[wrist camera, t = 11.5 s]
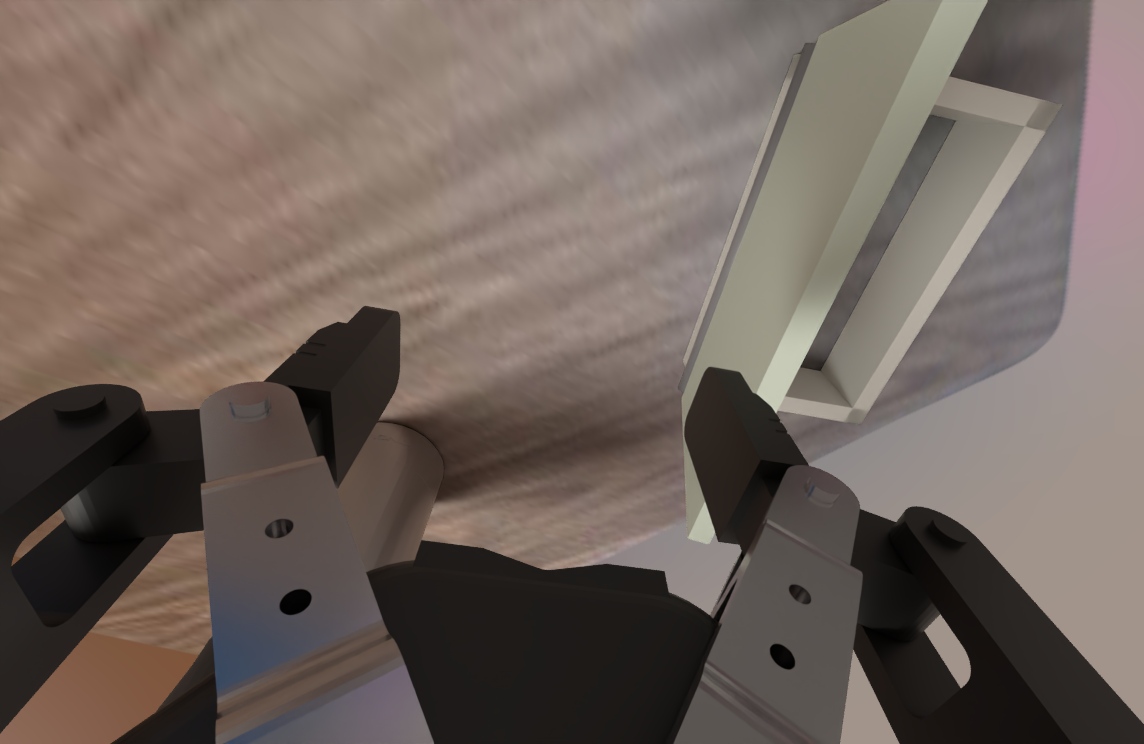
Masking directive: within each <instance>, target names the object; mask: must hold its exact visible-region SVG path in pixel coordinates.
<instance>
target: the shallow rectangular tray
mask: <svg viewBox="0 0 1144 744" xmlns="http://www.w3.org/2000/svg"><path fill="white" fill-rule="evenodd" d="M815 46H816V44H813V43H806V44H805V45H804V48H803V50H802V53H801V54H795V55H794V56H793V59H792V61H791V64H790V67H789V70H788V72H787V75H786V78H785V81H784V83H783V86H782V89H781V92H780V94H779V97H778V100H777V103H776V105H775V108H774V111H773V114H772V116H771V119H770V122H769V125H768V127H767V130H766V133H765V136H764V138H763V141H762V144H761V147H760V149H759V152H758V155H757V158H756V160H755V163H754V166H753V169H752V171H751V174H750V177H749V180H748V182H747V185H746V188H745V191H744V193H743V196H742V199H741V202H740V205H739V207H738V210H737V213H736V216H735V218H734V221H733V224H732V227H731V229H730V232H729V235H728V238H727V240H726V243H725V246H724V249H723V251H722V254H721V257H720V260H719V262H718V265H717V268H716V271H715V273H714V276H713V279H712V282H711V284H710V287H709V290H708V293H707V295H706V298H705V301H704V304H703V306H702V309H701V312H700V315H699V317H698V320H697V323H696V326H695V328H694V331H693V334H692V337H691V339H690V342H689V345H688V348H687V350H686V353H685V356H684V359H683V362H684V365H685V370H684V372H683V375H682V378H681V380H680V383H679V386H678V389H679V390H680V391H681V392H683V393H684V391H685V388H686V386H687V383H688V380H689V378H690V375H691V372H692V370H693V367H694V364H695V362H696V359H697V357H698V354H699V351H700V349H701V346H702V343H703V341H704V338H705V335H706V333H707V330H708V328H709V325H710V322H711V320H712V317H713V314H714V312H715V309H716V307H717V304H718V301H719V299H720V296H721V293H722V291H723V288H724V285H725V283H726V280H727V278H728V275H729V272H730V270H731V267H732V264H733V262H734V259H735V256H736V254H737V251H738V249H739V246H740V243H741V241H742V238H743V235H744V233H745V230H746V227H747V225H748V222H749V220H750V217H751V214H752V212H753V209H754V206H755V204H756V201H757V199H758V196H759V193H760V191H761V188H762V185H763V183H764V180H765V177H766V175H767V172H768V170H769V167H770V164H771V162H772V159H773V156H774V154H775V151H776V148H777V146H778V143H779V141H780V138H781V135H782V133H783V130H784V127H785V125H786V122H787V119H788V117H789V114H790V112H791V109H792V106H793V104H794V101H795V98H796V96H797V93H798V91H799V88H800V85H801V83H802V80H803V77H804V75H805V72H806V69H807V67H808V64H809V62H810V59H811V56H812V54H813V51H814V48H815ZM1061 107H1062V104H1058V103H1054V102H1050V101H1046V100H1042V99H1038V98H1034V97H1030V96H1026V95H1022V94H1018V93H1014V92H1010V91H1006V90H1002V89H998V88H994V87H990V86H986V85H982V84H978V83H974V82H970V81H966V80H962V79H958V78H954V77H950V76H949V77H948V79H947V81H946V83H945V85H944V87H943V89H942V91H941V93H940V95H939V97H938V99H937V101H936V103H935V105H934V107H933V109H932V111H931V113H930V115H935V116H939V117H943V118H947V119H951V120H955V121H956V122H955V124H954V126H953V127H952V129H951V131H950V133H949V135H948V137H947V138H946V140H945V142H944V144H943V146H942V148H941V150H940V151H939V153H938V155H937V157H936V159H935V161H934V162H933V164H932V166H931V168H930V170H929V172H928V174H927V175H926V177H925V179H924V181H923V183H922V185H921V186H920V188H919V190H918V192H917V194H916V196H915V198H914V199H913V201H912V203H911V205H910V207H909V209H908V210H907V212H906V214H905V216H904V218H903V220H902V222H901V223H900V225H899V227H898V229H897V231H896V233H895V234H894V236H893V238H892V240H891V242H890V244H889V246H888V247H887V249H886V251H885V253H884V255H883V257H882V258H881V260H880V262H879V264H878V266H877V268H876V270H875V271H874V273H873V275H872V277H871V279H870V281H869V282H868V284H867V286H866V288H865V290H864V292H863V294H862V295H861V297H860V299H859V301H858V303H857V305H856V306H855V308H854V310H853V312H852V314H851V316H850V318H849V319H848V321H847V323H846V325H845V327H844V329H843V330H842V332H841V334H840V336H839V338H838V340H837V342H836V343H835V345H834V347H833V349H832V351H831V353H830V354H829V356H828V358H827V360H826V362H825V364H824V366H823V367H822V369H821V371H817V370H812V369H806V368H801V367H800V368H799V370H798V372H797V374H796V376H795V378H794V380H793V382H792V383H791V385H790V387H789V389H788V391H787V393H786V395H785V397H784V399H783V401H782V403H781V405H780V407H779V409H778V411H784V412H789V413H795V414H801V415H807V416H813V417H819V418H825V419H830V420H836V421H842V422H848V423H854V424H861V422H862V421H863V419H864V418H865V416H866V415H867V413H868V411H869V410H870V408H871V407H872V405H873V404H874V402H875V400H876V399H877V397H878V396H879V394H880V392H881V391H882V389H883V388H884V386H885V385H886V383H887V381H888V380H889V378H890V377H891V375H892V374H893V372H894V370H895V369H896V367H897V366H898V364H899V363H900V361H901V359H902V358H903V356H904V355H905V353H906V351H907V350H908V348H909V347H910V345H911V344H912V342H913V340H914V339H915V337H916V336H917V334H918V333H919V331H920V329H921V328H922V326H923V325H924V323H925V322H926V320H927V318H928V317H929V315H930V314H931V312H932V310H933V309H934V307H935V306H936V304H937V303H938V301H939V299H940V298H941V296H942V295H943V293H944V292H945V290H946V288H947V287H948V285H949V284H950V282H951V281H952V279H953V277H954V276H955V274H956V273H957V271H958V269H959V268H960V266H961V265H962V263H963V262H964V260H965V258H966V257H967V255H968V254H969V252H970V251H971V249H972V247H973V246H974V244H975V243H976V241H977V240H978V238H979V236H980V235H981V233H982V232H983V230H984V228H985V227H986V225H987V224H988V222H989V221H990V219H991V217H992V216H993V214H994V213H995V211H996V210H997V208H998V206H999V205H1000V203H1001V202H1002V200H1003V199H1004V197H1005V195H1006V194H1007V192H1008V191H1009V189H1010V187H1011V186H1012V184H1013V183H1014V181H1015V180H1016V178H1017V176H1018V175H1019V173H1020V172H1021V170H1022V169H1023V167H1024V165H1025V164H1026V162H1027V161H1028V159H1029V158H1030V156H1031V154H1032V153H1033V151H1034V150H1035V148H1036V146H1037V145H1038V143H1039V142H1040V140H1041V139H1042V137H1043V135H1044V134H1045V132H1046V131H1047V129H1048V128H1049V126H1050V124H1051V123H1052V121H1053V120H1054V118H1055V117H1056V115H1057V113H1058V112H1059V110H1060V109H1061Z"/></svg>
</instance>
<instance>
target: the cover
mask: <svg viewBox="0 0 1144 744" xmlns="http://www.w3.org/2000/svg"><path fill="white" fill-rule="evenodd" d="M987 1H988V0H889V1H887V2H885V3H883V4H881V5H879V6H877V7H875V8H873V9H871V10H869V11H867V12H865V13H863V14H861V15H859V16H857V17H855V18H853V19H851V20H849V21H847V22H845V23H843V24H841V25H839V26H837V27H835V28H833V29H831V30H829V31H827V32H825V33H823V34H821V35H819V38H818V40H817V43H816V46H815V48H814V51H813V54H812V56H811V59H810V62H809V64H808V67H807V69H806V72H805V75H804V77H803V80H802V83H801V85H800V88H799V91H798V93H797V96H796V98H795V101H794V104H793V106H792V109H791V112H790V114H789V117H788V119H787V122H786V125H785V127H784V130H783V133H782V135H781V138H780V141H779V143H778V146H777V148H776V151H775V154H774V156H773V159H772V162H771V164H770V167H769V170H768V172H767V175H766V177H765V180H764V183H763V185H762V188H761V191H760V193H759V196H758V199H757V201H756V204H755V206H754V209H753V212H752V214H751V217H750V220H749V222H748V225H747V227H746V230H745V233H744V235H743V238H742V241H741V243H740V246H739V249H738V251H737V254H736V256H735V259H734V262H733V264H732V267H731V270H730V272H729V275H728V278H727V280H726V283H725V285H724V288H723V291H722V293H721V296H720V299H719V301H718V304H717V307H716V309H715V312H714V314H713V317H712V320H711V322H710V325H709V328H708V330H707V333H706V335H705V338H704V341H703V343H702V346H701V349H700V351H699V354H698V357H697V359H696V362H695V364H694V367H693V370H692V372H691V375H690V378H689V380H688V383H687V386H686V388H685V391H684V393H683V396H682V399H681V400H682V423H683V447H684V470H685V493H686V517H687V537H688V539H691V540H694V541H698V542H702V543H705V544H709V543H710V541H711V539H712V537H713V536H714V533H715V530H714V527H713V524H712V521H711V518H710V515H709V512H708V509H707V506H706V503H705V500H704V497H703V494H702V490H701V487H700V484H699V481H698V478H697V475H696V472H695V469H694V466H693V463H692V460H691V457H690V454H689V451H688V448H687V445H686V442H685V437H684V427H685V421H686V417H687V414H688V412H689V409H690V406H691V404H692V401H693V399H694V396H695V394H696V391H697V389H698V386H699V383H700V381H701V378H702V376H703V374H704V372H705V370H706V369H707V368H708V367H716V368H722V369H728V370H733V371H739V372H740V373H741V374H742V376H743V377H744V379H745V381H746V382H747V384H748V386H749V387H750V389H751V391H752V392H753V393H756V394H757V395H758V396H760V397H761V398H762V399H763V400H764V401H765V402H767V403H768V404H769V405H770V406H771V407H772V408H773V410H774V411H775V413H777V411H778V409H779V407H780V405H781V403H782V401H783V399H784V397H785V395H786V393H787V391H788V389H789V387H790V385H791V383H792V382H793V380H794V378H795V376H796V374H797V372H798V370H799V368H800V366H801V364H802V362H803V360H804V358H805V356H806V354H807V352H808V350H809V348H810V346H811V344H812V343H813V341H814V339H815V337H816V335H817V333H818V331H819V329H820V327H821V325H822V323H823V321H824V319H825V317H826V315H827V313H828V311H829V309H830V307H831V306H832V304H833V302H834V300H835V298H836V296H837V294H838V292H839V290H840V288H841V286H842V284H843V282H844V280H845V278H846V276H847V274H848V272H849V270H850V268H851V267H852V265H853V263H854V261H855V259H856V257H857V255H858V253H859V251H860V249H861V247H862V245H863V243H864V241H865V239H866V237H867V235H868V233H869V231H870V229H871V228H872V226H873V224H874V222H875V220H876V218H877V216H878V214H879V212H880V210H881V208H882V206H883V204H884V202H885V200H886V198H887V196H888V194H889V192H890V190H891V189H892V187H893V185H894V183H895V181H896V179H897V177H898V175H899V173H900V171H901V169H902V167H903V165H904V163H905V161H906V159H907V157H908V155H909V153H910V152H911V150H912V148H913V146H914V144H915V142H916V140H917V138H918V136H919V134H920V132H921V130H922V128H923V126H924V124H925V122H926V120H927V118H928V116H929V114H930V113H931V111H932V109H933V107H934V105H935V103H936V101H937V99H938V97H939V95H940V93H941V91H942V89H943V87H944V85H945V83H946V81H947V79H948V77H949V75H950V74H951V72H952V70H953V68H954V66H955V64H956V62H957V60H958V58H959V56H960V54H961V52H962V50H963V48H964V46H965V44H966V42H967V40H968V38H969V36H970V35H971V33H972V31H973V29H974V27H975V25H976V23H977V21H978V19H979V17H980V15H981V13H982V11H983V9H984V7H985V5H986V3H987Z"/></svg>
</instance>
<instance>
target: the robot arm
mask: <svg viewBox="0 0 1144 744" xmlns="http://www.w3.org/2000/svg"><path fill="white" fill-rule="evenodd" d="M399 372H400V315H399V313H398V312H397V311H392V310H386V309H381V308H375V307H369V306H364V307H362V308H361V309H360V311H359V312H358V313H357V314H356V315H355V316H354V317H353V318H352V319H351V320H350V321H349V322H348V323H341V322H337V323H334V324H332V325H329V326H327V327H324V328H322V329H320V330H318V331H317V332H316V333H315V334H314V335H312V336H311V337H310V338H309V339H308V340H307V341H306V344H303V345H302V346H301V347H300V348H299V349H298V350H297V351H296V354H295V353H293V354H292V355H291V356H290V357H289V358H288V359H287V360H286V361H285V362H284V363H283V364H282V365H281V366H280V367H279V368H277V369H276V370H275V371H274V372H273V373H272V374H271V375H270V376H269V377H268V378H267V379H266V380H265V381H264V382H247V383H241V384H236V385H233V386H229V387H226V388H224V389H221V390H219V391H217V392H215V393H214V394H212V395H210V396H209V397H208V398H207V399H206V400H205V401H204V402H203V403H202V405H201V407H200V409H194V410H171V411H147V412H146V410H145V407H144V404H143V401H142V398H141V395H140V394H139V393H138V392H137V391H136V390H134V389H132V388H129V387H126V386H121V385H113V384H94V385H85V386H78V387H73V388H68V389H65V390H61V391H57V392H54V393H51V394H49V395H46V396H44V397H41V398H39V399H37V400H35V401H33V402H32V403H30V404H28V405H27V406H25V407H23V408H21V409H20V410H18V411H16V412H15V413H13V414H11V415H10V416H8V417H6V418H5V419H3V420H1V421H0V733H1V732H2V731H3V729H5V727H6V726H7V725H8V724H9V723H10V722H11V720H12V719H13V718H14V717H15V716H16V715H17V714H18V712H19V711H20V710H21V709H22V708H23V707H24V706H25V704H26V703H27V702H28V701H29V700H30V699H31V698H32V696H33V695H34V694H35V693H36V692H37V691H38V690H39V688H40V687H41V686H42V685H43V684H44V683H45V681H46V680H47V679H48V678H49V677H50V676H51V675H52V673H53V672H54V671H55V670H56V669H57V668H58V667H59V665H60V664H61V663H62V662H63V661H64V660H65V658H66V657H67V656H68V655H69V654H70V653H71V652H72V650H73V649H74V648H75V647H76V646H77V645H78V643H79V642H80V641H81V640H82V639H83V638H84V636H86V634H87V633H88V632H89V631H90V630H91V629H92V627H93V626H94V625H95V624H96V623H97V622H98V621H99V619H100V618H101V617H102V616H103V615H104V614H105V613H106V611H107V610H108V609H109V608H110V607H111V606H112V605H113V603H114V602H115V601H116V600H117V599H118V598H119V596H120V595H121V594H122V593H123V592H124V591H125V590H126V588H127V587H128V586H129V585H130V584H131V583H132V582H133V580H134V579H135V578H136V577H137V576H138V575H139V574H140V572H141V571H142V570H143V569H144V568H145V567H146V565H147V564H148V563H149V562H150V561H151V560H152V559H153V557H154V556H155V555H156V554H157V553H158V552H159V551H160V549H161V548H162V547H163V546H164V545H165V544H166V542H167V541H168V540H169V539H170V538H171V537H172V536H173V534H178V533H186V532H194V531H202V530H204V537H205V550H206V562H207V575H208V587H209V600H210V613H211V625H212V636H211V638H210V639H209V641H208V642H207V644H206V645H205V647H204V649H203V650H202V652H201V653H200V655H199V656H198V658H197V659H196V661H195V662H194V663H193V665H192V666H191V668H190V669H189V670H188V672H187V673H186V674H185V675H184V677H183V678H182V679H181V680H180V682H179V683H178V685H177V686H176V687H175V688H174V689H173V691H172V692H171V693H170V694H169V696H168V697H167V698H166V700H165V701H164V702H163V704H162V705H161V706H160V707H159V709H158V710H157V711H156V713H154V714H153V715H151V716H150V717H148V718H147V719H145V720H144V721H143V722H141V723H140V724H139V725H137V726H135V727H134V728H133V729H131V730H130V731H128V732H127V733H125V734H124V735H123V736H121V737H119V738H118V739H117V740H115V741H114V742H112V743H111V744H840V739H841V732H842V724H843V718H844V711H845V703H846V696H847V689H848V682H849V674H850V667H851V660H852V653H853V650H854V652H855V654H856V656H857V658H858V660H859V662H860V664H861V666H862V668H863V670H864V672H865V674H866V676H867V678H868V680H869V682H870V684H871V686H872V688H873V690H874V692H875V694H876V696H877V699H878V701H879V702H880V705H881V707H882V709H883V711H884V713H885V715H886V717H887V719H888V721H889V723H890V725H891V727H892V729H893V731H894V733H895V735H896V737H897V739H898V741H899V743H900V744H1144V724H1143V723H1142V722H1141V721H1140V720H1139V718H1138V717H1137V716H1136V715H1135V714H1134V713H1133V712H1132V711H1131V709H1130V708H1129V707H1128V706H1127V705H1126V704H1125V703H1124V702H1123V701H1122V699H1121V698H1120V697H1119V696H1118V695H1117V694H1116V693H1115V692H1114V691H1113V689H1112V688H1111V687H1110V686H1109V685H1108V684H1107V683H1106V682H1105V680H1104V679H1103V678H1102V677H1101V676H1100V675H1099V674H1098V673H1097V671H1096V670H1095V669H1094V668H1093V667H1092V666H1091V665H1090V664H1089V662H1088V661H1087V660H1086V659H1085V658H1084V657H1083V656H1082V655H1081V653H1080V652H1079V651H1078V650H1077V649H1076V648H1075V647H1074V646H1073V644H1072V643H1071V642H1070V641H1069V640H1068V639H1067V638H1066V637H1065V636H1064V635H1063V633H1062V632H1061V631H1060V630H1059V629H1058V628H1057V627H1056V625H1055V624H1054V623H1053V622H1052V621H1051V620H1050V619H1049V618H1048V617H1047V615H1046V614H1045V613H1044V612H1043V611H1042V610H1041V609H1040V608H1039V607H1038V605H1037V604H1036V603H1035V602H1034V601H1033V600H1032V599H1031V597H1030V596H1029V595H1028V594H1027V593H1026V592H1025V591H1024V590H1023V589H1022V587H1021V586H1020V585H1019V584H1018V583H1017V582H1016V581H1015V579H1014V578H1013V577H1012V576H1011V575H1010V574H1009V573H1008V572H1007V571H1006V569H1005V568H1004V567H1003V566H1002V565H1001V564H1000V563H999V562H998V560H997V559H996V558H995V557H994V556H993V555H992V554H991V553H990V551H989V550H988V549H987V548H986V547H985V546H984V545H983V544H982V543H981V542H980V540H979V539H978V538H977V537H976V536H975V535H974V534H972V533H971V532H970V531H969V530H968V529H966V528H965V527H964V526H963V525H961V524H959V523H958V522H957V521H955V520H953V519H951V518H950V517H948V516H946V515H944V514H942V513H940V512H937V511H935V510H932V509H929V508H924V507H917V506H916V507H910V508H908V509H906V510H905V512H904V513H903V514H902V516H901V517H900V518H899V519H898V521H897V522H894V521H891V520H888V519H885V518H883V517H880V516H878V515H875V514H872V513H869V512H867V511H864V510H861V509H860V504H859V501H858V499H857V497H856V496H855V494H854V493H853V492H852V491H851V490H850V488H849V487H847V486H846V485H845V484H844V483H843V482H842V481H840V480H839V479H837V478H836V477H834V476H833V475H831V474H829V473H827V472H825V471H823V470H821V469H817V468H815V467H811V466H809V465H808V463H807V462H806V460H805V458H804V457H803V455H802V454H801V452H800V451H799V449H798V447H797V446H796V444H795V443H794V441H793V440H792V438H791V437H790V435H789V434H787V430H786V429H785V427H784V426H783V424H782V423H780V419H779V418H778V416H777V415H776V413H775V411H774V410H773V408H772V407H771V406H770V405H769V404H768V403H767V402H765V401H764V400H763V399H762V398H761V397H760V396H758V395H757V394H756V393H753V392H752V391H751V389H750V387H749V386H748V384H747V382H746V381H745V379H744V377H743V376H742V374H741V373H740V372H739V371H733V370H728V369H722V368H716V367H708V368H707V369H706V370H705V372H704V374H703V376H702V378H701V381H700V383H699V386H698V389H697V391H696V394H695V396H694V399H693V401H692V404H691V406H690V409H689V412H688V414H687V417H686V421H685V427H684V437H685V442H686V445H687V448H688V451H689V454H690V457H691V460H692V463H693V466H694V469H695V472H696V475H697V478H698V481H699V484H700V487H701V490H702V494H703V497H704V500H705V503H706V506H707V509H708V512H709V515H710V518H711V521H712V524H713V527H714V530H715V533H716V536H717V539H718V542H724V543H731V544H739V545H740V547H741V550H742V551H741V553H740V554H739V556H738V558H737V560H736V561H735V563H734V566H733V568H732V570H731V572H730V574H729V576H728V578H727V581H726V583H725V585H724V587H723V589H722V591H721V593H720V595H719V597H718V599H717V602H716V604H715V606H714V608H713V610H712V612H711V615H708V614H707V613H706V612H704V611H703V610H701V609H700V608H698V607H697V606H695V605H694V604H692V603H690V602H689V601H687V600H685V599H683V598H681V597H679V596H676V595H674V594H672V593H669V592H668V587H667V582H666V577H665V572H664V571H658V570H651V569H643V568H635V567H627V566H619V565H611V564H603V565H593V566H584V567H575V568H565V569H556V570H543V569H539V568H536V567H534V566H531V565H528V564H525V563H523V562H520V561H517V560H514V559H512V558H509V557H506V556H503V555H501V554H498V553H495V552H493V551H490V550H487V549H484V548H478V547H470V546H463V545H455V544H447V543H439V542H431V541H423V540H422V537H423V534H424V531H425V528H426V525H427V522H428V519H429V516H430V514H431V511H432V508H433V505H434V502H435V499H436V496H437V493H438V490H439V488H440V485H441V482H442V479H443V474H444V466H443V460H442V458H441V456H440V454H439V452H438V450H437V449H436V448H435V447H434V445H433V444H432V443H431V442H430V441H429V440H428V439H426V438H425V437H424V436H422V435H421V434H419V433H418V432H416V431H414V430H412V429H409V428H407V427H405V426H401V425H397V424H393V423H382V422H378V423H377V421H378V420H379V418H380V416H381V415H382V413H383V411H384V410H385V408H386V406H387V404H388V403H389V401H390V399H391V398H392V396H393V394H394V392H395V390H396V387H397V383H398V379H399ZM59 509H61V511H62V513H63V515H64V517H65V519H66V520H64V521H63V522H62V523H61V524H60V525H59V526H58V527H56V528H55V529H54V530H53V531H52V532H51V533H50V534H48V535H47V536H46V537H45V538H44V539H43V540H41V541H40V542H39V543H38V544H37V545H36V546H35V547H33V548H32V549H31V550H30V551H29V552H28V553H26V554H25V555H24V556H23V557H22V558H21V559H20V560H19V561H17V562H16V563H15V564H14V565H13V566H11V564H12V560H13V557H14V554H15V552H16V550H17V548H18V547H19V545H20V544H21V542H22V541H23V540H24V539H25V538H26V537H27V536H28V535H29V534H30V533H31V532H32V531H34V530H35V529H36V528H37V527H38V526H40V525H41V524H42V523H43V522H44V521H46V520H47V519H48V518H49V517H50V516H52V515H53V514H54V513H55V512H56V511H58V510H59ZM940 614H941V615H942V617H943V618H944V620H945V621H946V623H947V624H948V626H949V627H950V628H951V630H952V631H953V633H954V634H955V636H956V637H957V639H958V640H959V641H960V643H961V644H962V646H963V647H964V649H965V651H966V652H967V655H968V657H969V660H970V665H971V676H970V679H969V681H968V682H967V684H966V685H965V686H963V687H962V688H960V686H959V685H958V683H957V682H956V680H955V679H954V677H953V676H952V674H951V672H950V671H949V669H948V668H947V666H946V665H945V663H944V661H943V660H942V659H941V657H940V655H939V654H938V652H937V650H936V649H935V647H934V646H933V644H932V643H931V641H930V640H929V638H928V636H927V635H926V633H925V632H924V630H925V629H926V628H927V627H928V626H929V625H930V624H931V623H932V622H933V621H934V620H935V619H936V618H937V617H938V616H939V615H940Z"/></svg>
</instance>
